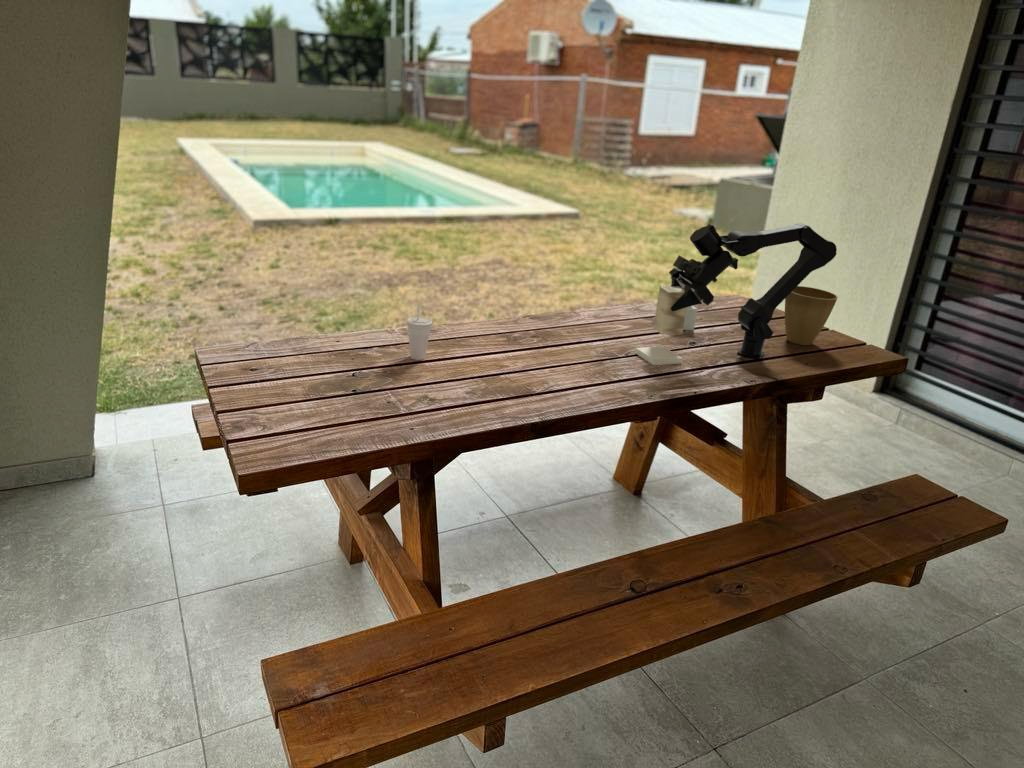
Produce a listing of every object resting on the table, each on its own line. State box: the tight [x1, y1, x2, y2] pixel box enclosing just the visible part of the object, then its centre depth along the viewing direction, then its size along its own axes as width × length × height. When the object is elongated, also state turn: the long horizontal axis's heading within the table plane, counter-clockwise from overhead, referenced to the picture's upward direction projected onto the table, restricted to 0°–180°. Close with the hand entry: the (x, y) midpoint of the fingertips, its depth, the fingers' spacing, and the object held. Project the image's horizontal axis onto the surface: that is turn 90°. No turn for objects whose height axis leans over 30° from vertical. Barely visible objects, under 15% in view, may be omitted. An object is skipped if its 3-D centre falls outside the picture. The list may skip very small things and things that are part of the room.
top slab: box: [635, 346, 683, 366], centre depth 201 cm, size 9×9×2 cm
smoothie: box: [406, 302, 433, 361], centre depth 185 cm, size 6×6×14 cm
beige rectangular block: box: [653, 285, 687, 336], centre depth 204 cm, size 6×6×12 cm
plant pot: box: [784, 285, 838, 346], centre depth 228 cm, size 15×15×16 cm
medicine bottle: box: [682, 305, 699, 332], centre depth 231 cm, size 7×7×12 cm
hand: (667, 306), depth 203 cm, fingers closed on beige rectangular block, 6 cm apart
